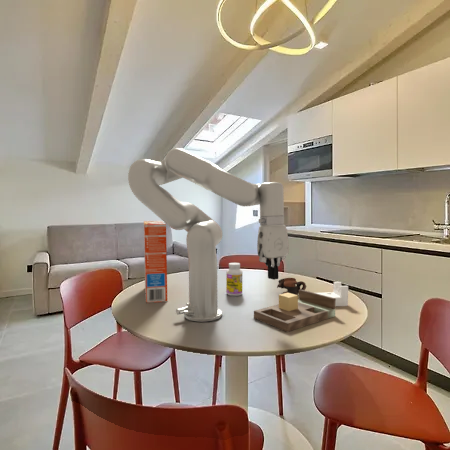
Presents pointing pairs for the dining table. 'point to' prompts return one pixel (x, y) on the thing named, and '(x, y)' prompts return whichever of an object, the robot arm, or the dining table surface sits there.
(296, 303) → the block
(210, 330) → the dining table surface
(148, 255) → the orange cereal box
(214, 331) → the dining table surface
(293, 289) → the pottery mug
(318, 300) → the box
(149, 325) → the dining table surface
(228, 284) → the supplement bottle
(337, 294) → the bracket
